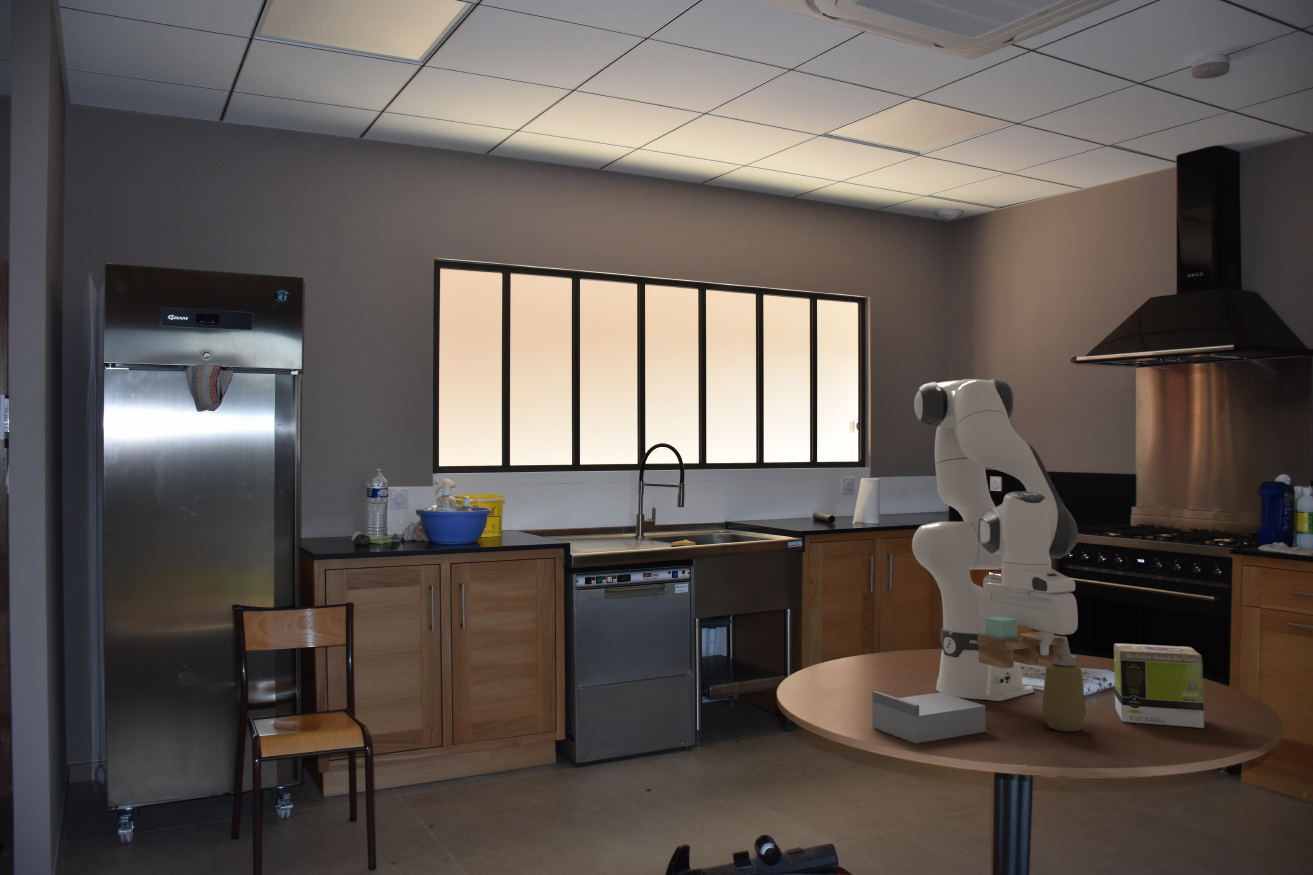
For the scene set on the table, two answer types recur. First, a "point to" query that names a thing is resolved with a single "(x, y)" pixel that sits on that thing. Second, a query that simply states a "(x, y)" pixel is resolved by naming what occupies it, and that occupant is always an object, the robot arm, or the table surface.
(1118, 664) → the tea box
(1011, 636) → the mint green cube
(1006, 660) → the pallet
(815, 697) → the table surface
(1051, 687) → the squeeze bottle
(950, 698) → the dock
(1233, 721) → the table surface
